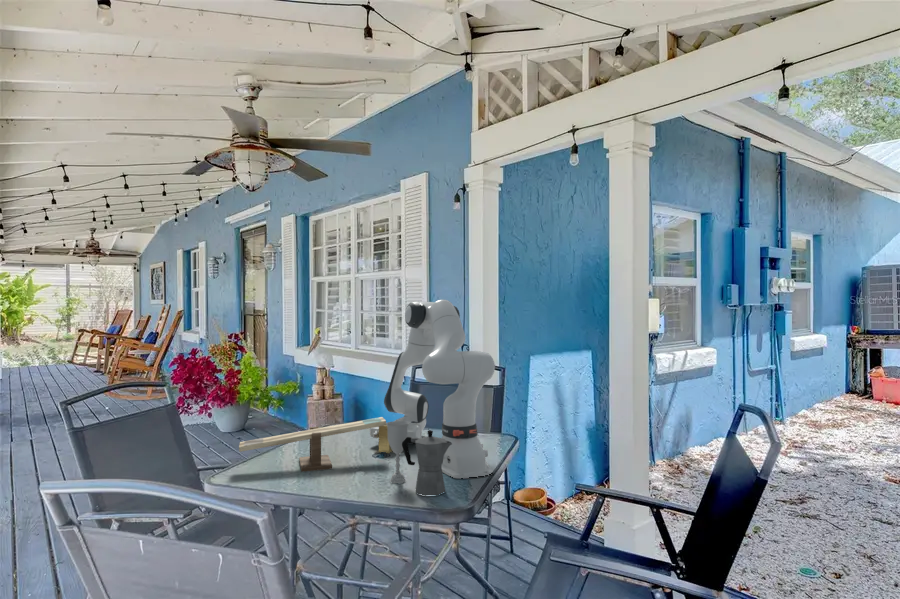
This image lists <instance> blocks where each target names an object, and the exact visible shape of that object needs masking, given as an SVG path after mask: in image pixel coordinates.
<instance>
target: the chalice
mask: <svg viewBox="0 0 900 599" xmlns="http://www.w3.org/2000/svg"><path fill="white" fill-rule="evenodd" d="M386 425H387V427H388V442H389V445H390V447H391V449H392V451H393V452H392V453H394V454H395V460H394V461H395V462H396V463H395V465H394V468H395V472H393V474H392V475H391V477H390V479H389V483H390V482H392V483H391V484H393V483H401V484H404V483H406V482H407V480H406V478H405V475H404V473H403V472H401V471H400V467H401V466H402V465H401V464H400V461H401V457H400V454H401V453H403V452H404V450H403V447H402V442H403V441H404V440H405V439H406V437H408V425H409V422H405V421H395V420H394V421H388V422H386ZM405 481H406V482H405ZM403 482H404V483H403Z"/></svg>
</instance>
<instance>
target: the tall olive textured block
mask: <svg viewBox="0 0 900 599" xmlns="http://www.w3.org/2000/svg"><path fill="white" fill-rule="evenodd" d="M381 452H386V453H385V454H390V452H391V453H393V452H392V449H391V447H390V445H389V442H388V427H387V425H385V426H379V438H378V453H381Z"/></svg>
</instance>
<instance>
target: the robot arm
mask: <svg viewBox="0 0 900 599" xmlns="http://www.w3.org/2000/svg"><path fill="white" fill-rule="evenodd" d="M460 316H461V314H460V311H459V309H458V307H457V306H455V305H453V303H452V302H451V301H449V300H447V299H439V300H436V301H435V302H434V301H419V300H418V301H411V302H409V303H408V304H407V306H406V308H405V312H404V320H405V323H406V325H407V326H408V327H410V331H409V335H408V339H407V346H406V348H405V350H404V351H402V352H400V354H399V355H398V357H397V359H396V362H395V366H394V369H393V372H392V375H391V378H390V382H389V386H388V388H387V391H386V393H385V395H384V398H383V404H384V407H385V408H386V410H387V411H388V412H389V413H396V414H400V415H404V416H402V417H400V418H397V419H395V420H394V421H405V422H409V425H408V437H415V438H422V436H423V435H422V434H423V430H424V429H425V427H426V424H427V417H428V413H429V407H430V406H429V402H428V398H427V397H426V396H425V394H422V393H418V392H412V391H409V390H405V389H403V388H402V385H403V381H404V378H405V374H406V372H407V370H408V368H411V367H415V366H419V365H422V366H421V370H422V371H421V372H422V375H423V377H424V379H425V380H426V381H427V382H429V383H430V384H436V385H438V384H439V385H452V384H453V385H455V384H458V386H457V388H456V390H455V391H454V392H452V393H451V394H449V395H448V396H447V397H446V398H445V400H444V402H443V404H442V406H443V407H442V408H443V409H442V412H443V414H442V416H443V417H442V419H443V420H442V423H441V434H442V436H441V438H443V439H445V440H446V441H449V442H451V443H452V445H450V446H449V447H448V449H447V451H446V453H445V454H444V457H443V463H442V473H443V474H445V475H447V476H449V477H450V476H451V478H452V477H453V479H461V478H463V479H470V478H469V477H477V478H479V477H478V476H484V477H486V476H485V475H488V476H490V475H489V474H491V473H492V472H493V473H494V470H493V469H492V467H491V466H490V464H488V463H489V462H488V461H486V458H487V457H488V456H489V452H488V449H484V444H483V443H481V442H480V439H479V437H478V435H479V433H478V427H477V423H476V407H477V401H478V400H477V399H478V396H479V394H480V391H481V390H482V388H483V387H484V385H485V384H486V383H487V382H488V381H489V380H490V379H491V378H492V377H493V375H494V373H495V370H496V366H495V365H496V364H495V360H494V358H493V356H492V355H491V354H490V353H488V352H484V351H478V350H463V351H459V349H461V348H462V346H463V345H464V344H465V341H466V333H465V330H464V326H463V324H462V322H461V321H462V320H461V318H460ZM369 437H371V438H373V439H379V427H374V428H369ZM491 475H492V474H491Z"/></svg>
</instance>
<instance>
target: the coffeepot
mask: <svg viewBox="0 0 900 599" xmlns="http://www.w3.org/2000/svg"><path fill="white" fill-rule="evenodd" d="M408 444H411V445H415V448H416V449H415V450H416V456H417V462H418V471H417V476H416V483H415V489H416V490H415V494H416V493H418V494H422V495H439V494H441V493H443V492H445V493H446V487H445V481H444V473H443V472H442V463H443V457H444V454H445V453H446V451H447V449H448V447H449V446H450V445H452V443H451V442H449V441H446V440H445V439H443V438H442V437H437V436H434V435H433V430H431V429H430V430H429V429H428V430H427V436H424V437H421V438H415V437H406V439H405V440H404V441H403V442H402V447H403V452H404V456H405V459H406V462H407V464H408V465H409V466H415V464H416V462H414V461H412V456H411V454H410V450H409V446H408ZM418 494H417V495H418Z"/></svg>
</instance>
